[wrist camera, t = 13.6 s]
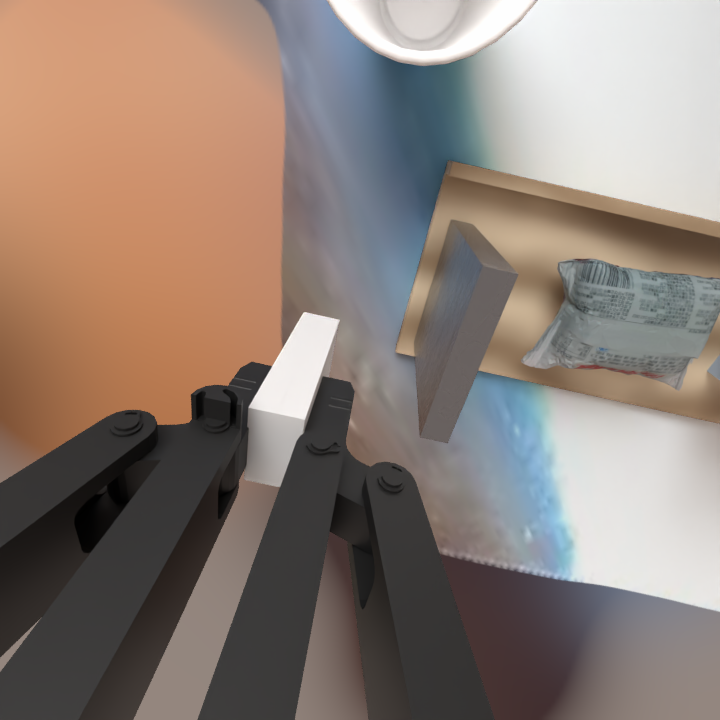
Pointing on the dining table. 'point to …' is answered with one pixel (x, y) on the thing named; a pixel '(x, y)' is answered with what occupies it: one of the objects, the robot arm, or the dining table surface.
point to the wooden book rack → (544, 284)
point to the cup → (429, 26)
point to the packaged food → (628, 321)
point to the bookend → (457, 325)
